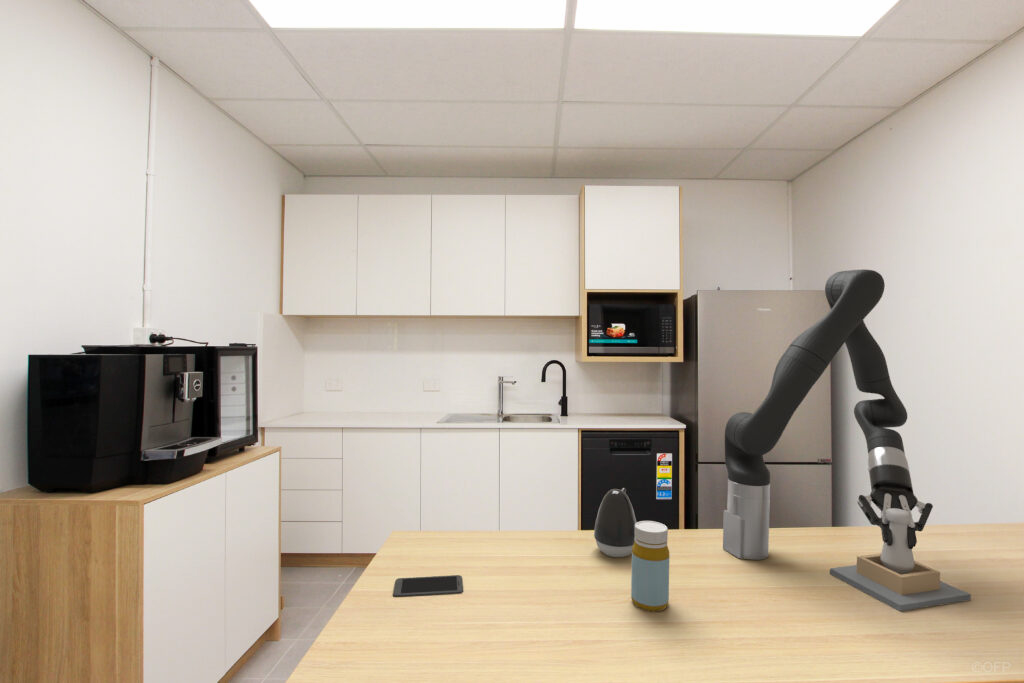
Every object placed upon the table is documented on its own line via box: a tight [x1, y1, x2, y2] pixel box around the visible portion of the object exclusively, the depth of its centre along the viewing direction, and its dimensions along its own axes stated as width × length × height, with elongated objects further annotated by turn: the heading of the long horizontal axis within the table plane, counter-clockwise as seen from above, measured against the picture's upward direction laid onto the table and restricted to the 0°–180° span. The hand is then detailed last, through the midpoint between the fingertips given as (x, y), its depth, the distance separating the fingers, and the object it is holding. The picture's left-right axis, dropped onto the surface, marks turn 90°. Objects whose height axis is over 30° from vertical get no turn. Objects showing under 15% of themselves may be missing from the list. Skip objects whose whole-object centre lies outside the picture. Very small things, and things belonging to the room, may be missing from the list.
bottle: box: [630, 520, 670, 612], centre depth 103 cm, size 7×7×15 cm
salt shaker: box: [880, 508, 915, 575], centre depth 111 cm, size 6×6×13 cm
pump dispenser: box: [593, 487, 637, 558], centre depth 126 cm, size 10×10×15 cm
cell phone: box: [392, 574, 464, 598], centre depth 109 cm, size 7×14×1 cm, turn 98°
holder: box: [829, 553, 972, 612], centre depth 111 cm, size 18×16×5 cm
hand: (900, 545), depth 109 cm, fingers closed on salt shaker, 3 cm apart
